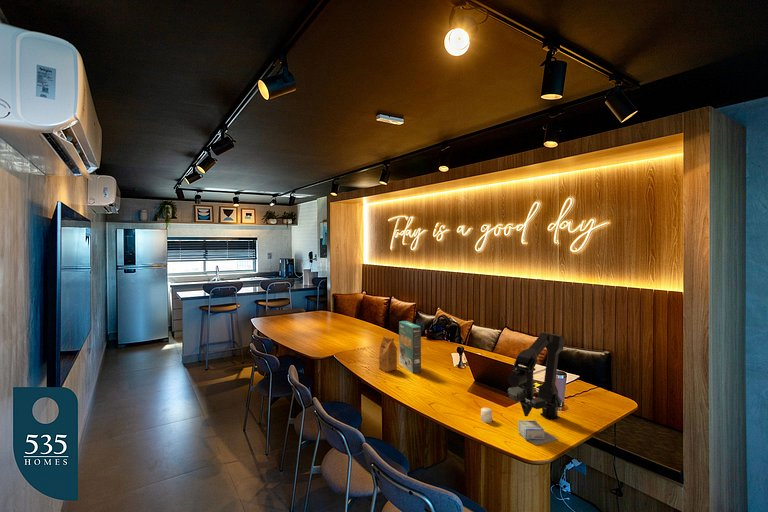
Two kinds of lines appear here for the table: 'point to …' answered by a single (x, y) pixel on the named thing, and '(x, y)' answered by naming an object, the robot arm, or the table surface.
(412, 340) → the cake mix box
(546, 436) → the mat
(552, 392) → the robot arm
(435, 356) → the table surface
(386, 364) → the coffee package
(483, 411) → the egg
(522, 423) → the medicine box
